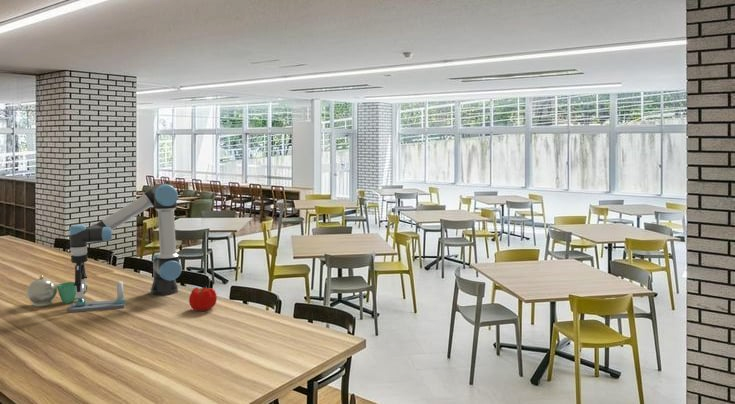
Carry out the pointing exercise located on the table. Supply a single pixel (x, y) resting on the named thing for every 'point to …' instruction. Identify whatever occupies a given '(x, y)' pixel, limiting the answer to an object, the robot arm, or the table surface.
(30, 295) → the teapot
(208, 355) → the table surface
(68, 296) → the mug
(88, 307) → the grey and teal piece
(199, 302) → the tomato
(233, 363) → the table surface
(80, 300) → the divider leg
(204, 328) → the table surface
